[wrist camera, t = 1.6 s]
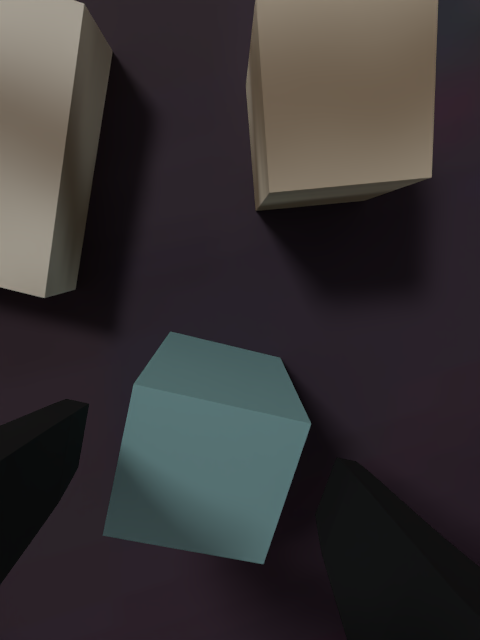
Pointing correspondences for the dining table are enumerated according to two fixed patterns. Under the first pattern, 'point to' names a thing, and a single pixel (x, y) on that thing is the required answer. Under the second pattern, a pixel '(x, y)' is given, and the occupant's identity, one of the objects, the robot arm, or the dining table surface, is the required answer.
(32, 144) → the birch slab
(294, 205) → the block
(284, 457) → the teal cube
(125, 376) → the dining table surface
